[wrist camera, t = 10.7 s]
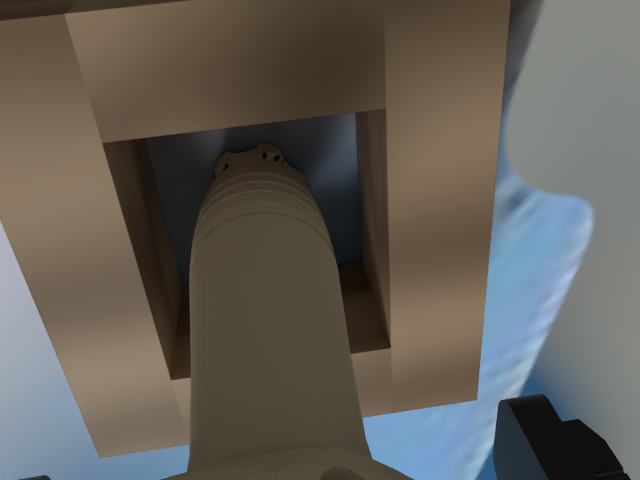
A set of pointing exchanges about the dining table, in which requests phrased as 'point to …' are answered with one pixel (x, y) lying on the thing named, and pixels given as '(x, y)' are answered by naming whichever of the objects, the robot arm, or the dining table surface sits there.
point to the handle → (270, 335)
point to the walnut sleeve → (232, 111)
